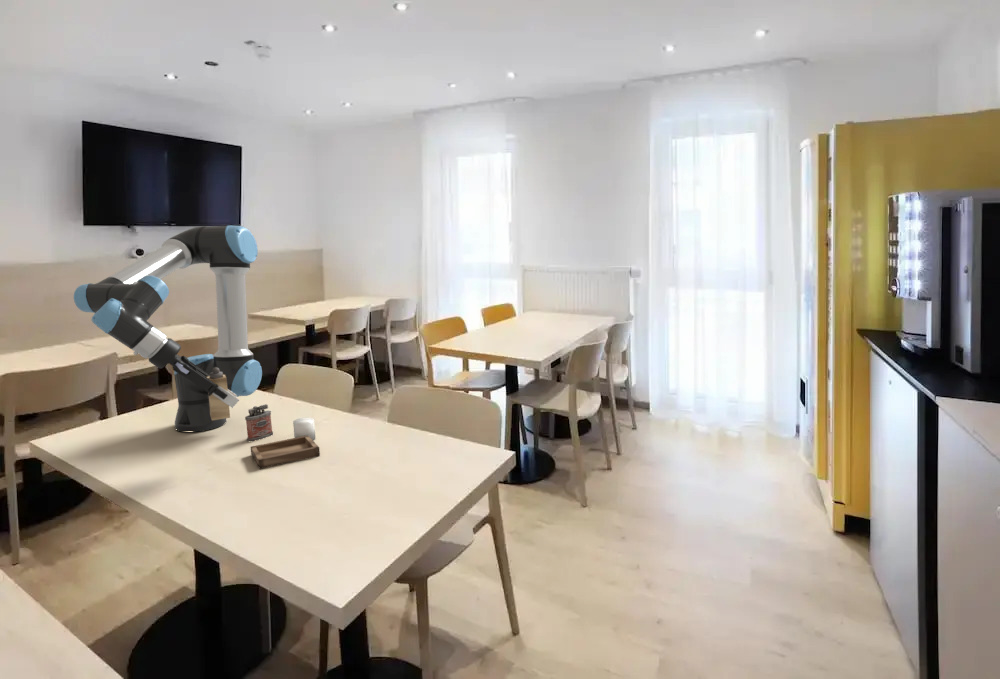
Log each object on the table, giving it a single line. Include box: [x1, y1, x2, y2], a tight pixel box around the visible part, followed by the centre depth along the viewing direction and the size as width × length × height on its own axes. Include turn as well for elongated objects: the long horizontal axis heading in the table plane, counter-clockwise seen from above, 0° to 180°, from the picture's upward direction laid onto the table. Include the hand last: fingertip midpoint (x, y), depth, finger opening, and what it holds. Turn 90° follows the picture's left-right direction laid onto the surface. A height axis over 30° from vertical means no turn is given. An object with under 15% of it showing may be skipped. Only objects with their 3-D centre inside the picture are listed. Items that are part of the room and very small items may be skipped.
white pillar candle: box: [292, 417, 316, 441], centre depth 174 cm, size 6×6×6 cm
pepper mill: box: [207, 367, 231, 420], centre depth 154 cm, size 4×4×14 cm
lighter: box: [244, 403, 274, 442], centre depth 176 cm, size 8×3×10 cm, turn 143°
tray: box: [250, 435, 321, 470], centre depth 162 cm, size 12×16×2 cm
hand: (234, 401), depth 157 cm, fingers closed on pepper mill, 4 cm apart
